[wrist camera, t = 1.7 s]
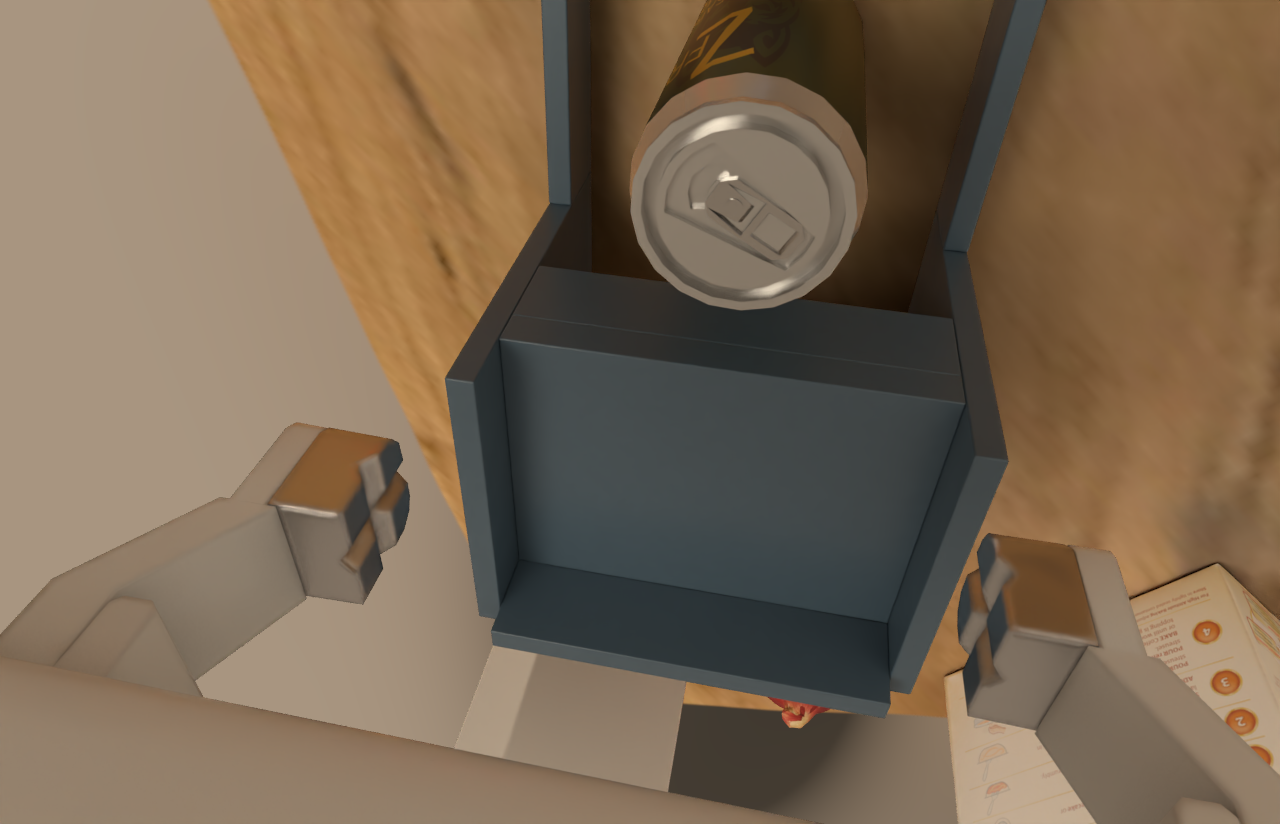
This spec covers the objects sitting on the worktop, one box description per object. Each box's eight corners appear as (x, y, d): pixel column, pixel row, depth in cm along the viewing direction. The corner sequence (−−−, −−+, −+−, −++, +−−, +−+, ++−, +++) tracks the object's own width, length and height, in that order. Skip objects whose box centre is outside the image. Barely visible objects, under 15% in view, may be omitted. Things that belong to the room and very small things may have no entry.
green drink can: (901, 22, 27) (925, 191, 18) (792, 156, 30) (764, 356, 21) (761, -88, 26) (710, 33, 16) (664, 65, 29) (576, 234, 20)
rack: (563, -154, 25) (356, -45, 15) (1057, -122, 24) (1221, 28, 13) (575, 380, 38) (468, 641, 28) (895, 426, 37) (912, 724, 26)
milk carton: (527, 551, 47) (382, 933, 32) (592, 481, 42) (457, 887, 28) (636, 612, 48) (544, 1001, 34) (710, 550, 44) (640, 968, 29)
